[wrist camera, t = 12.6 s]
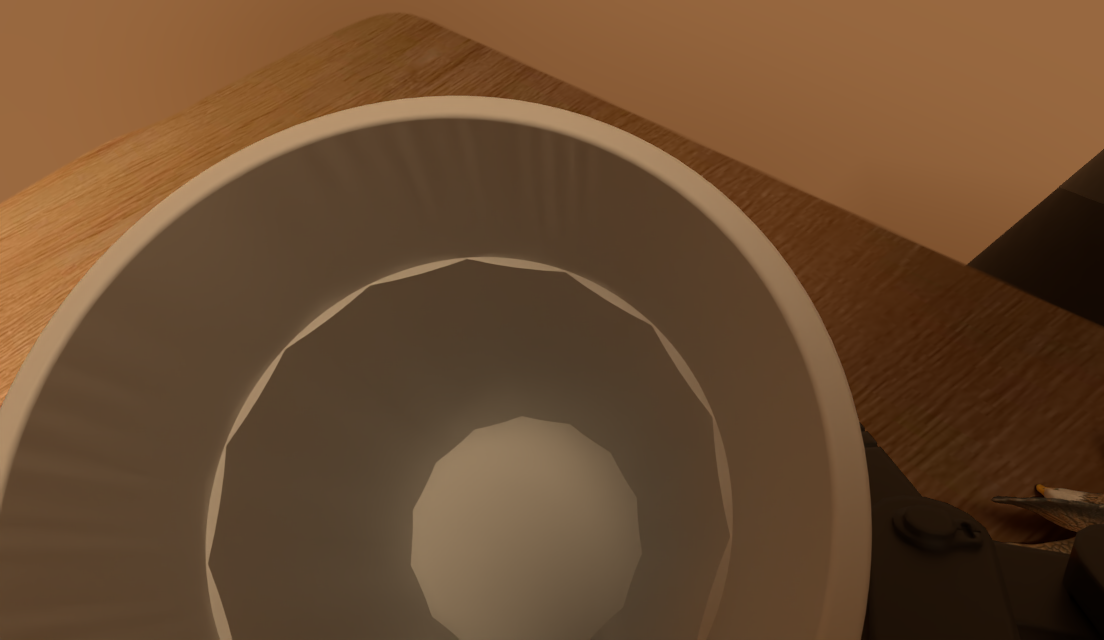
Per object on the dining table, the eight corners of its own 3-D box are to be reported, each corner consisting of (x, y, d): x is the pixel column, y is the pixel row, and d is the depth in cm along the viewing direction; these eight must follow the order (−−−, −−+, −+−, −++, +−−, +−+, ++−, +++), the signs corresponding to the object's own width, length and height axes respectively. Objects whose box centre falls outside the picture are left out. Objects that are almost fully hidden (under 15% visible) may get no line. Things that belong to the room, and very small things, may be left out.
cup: (322, 550, 17) (-205, 493, 6) (521, 338, 19) (416, -9, 8) (543, 792, 14) (376, 1493, 3) (744, 519, 16) (1053, 394, 5)
